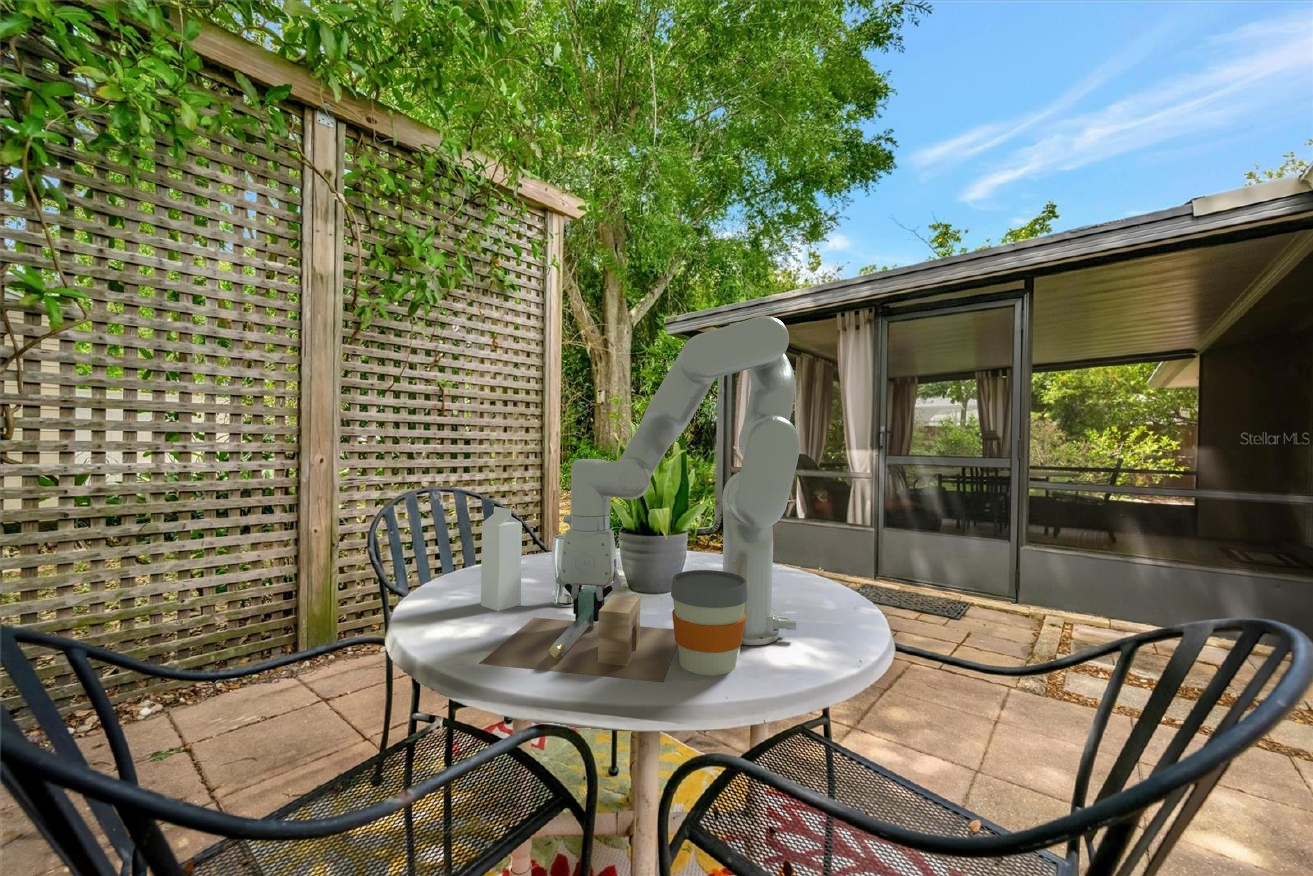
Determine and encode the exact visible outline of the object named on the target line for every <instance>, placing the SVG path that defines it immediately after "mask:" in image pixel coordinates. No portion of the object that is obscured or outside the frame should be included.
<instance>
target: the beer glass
mask: <svg viewBox="0 0 1313 876" xmlns="http://www.w3.org/2000/svg"><path fill="white" fill-rule="evenodd" d="M564 538H565V534H564V533H562V534H556V535H554V536H553V538H552V547H551V566H552V573H553V579H554V595H553V600H552V605H554V606H555V607H559V608H573V599H572V597H571V595H570V593H569V592H568V591H567V590H566V589H565V588H564V587H562V586H561V585H559V584H558V583H556V579H557V577H558V575H559V573H560V572H561V559H562V550H563V543H564Z"/></svg>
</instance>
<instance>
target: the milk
mask: <svg viewBox="0 0 1313 876" xmlns="http://www.w3.org/2000/svg"><path fill="white" fill-rule="evenodd" d="M522 535H523V523H522V521H519V520H518V519H516V518H515V517H513V516H512V510H511V508H505V507H499V506H494V507H493V513H492V514H491V515H490V516H488V518H486V519H485V520H484V521H482V523H481V562H480V563H481V567H480V569H481V571H480V572H481V575H480V606H481V607H484V608H488V609H490V610H493V611H497V612H500V611H503V610H507V609H510V608H513V607H518V606H519V607H520V606H521V605H522V604H521V601H522V600H521V599H522V598H521V597H522V595H521V594H522V591H521V590H522V547H523V546H522V545H523V544H522V543H523V542H522V540H523V538H522V537H523V536H522Z"/></svg>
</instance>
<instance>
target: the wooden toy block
mask: <svg viewBox="0 0 1313 876" xmlns="http://www.w3.org/2000/svg"><path fill="white" fill-rule="evenodd" d="M598 623H599V624H598V663H603V664H613V665H624V666H628V665H629V663H630V661H631V659H632V650H637V648H638V646H639V643H640V626H641V596H636V595H625V594H624V595H622V594H612V595H611V596H610V598H608V600H607V601H606V602H604V605H603V607H602V608H601V609H600V610H599V621H598Z"/></svg>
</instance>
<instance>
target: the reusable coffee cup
mask: <svg viewBox="0 0 1313 876" xmlns="http://www.w3.org/2000/svg"><path fill="white" fill-rule="evenodd" d="M670 597H671V598H672V600H673V609H672V612H671V613H672V624H673V629H674V636H675V641H676V642H677V649H678V658H679V659H678V660H679V664H680V666H681V667H682V669H684V670H686V671H688V672H690V673H693V674H697V675H702V676H721V675H725V674H730V673H731V672H733V671H734V670H735V669H736V667H737V659H738V652H739V648H740V647H741V646H742V638H743V631H744V625H745V618H746V615H745V613H744V607H745V602H746V601H747V600H748V594H747V582H746V579H745V578H743V577H742V576H739V575H737V574H733V573H729V572H724V571H723V570H713V569H712V570H711V569H696V570H695V569H694V570H686V571H682V572H678V573H676V574H674V575H673V577H672V584H671V591H670Z"/></svg>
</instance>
